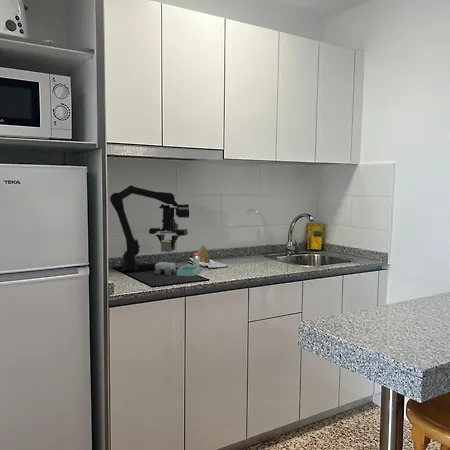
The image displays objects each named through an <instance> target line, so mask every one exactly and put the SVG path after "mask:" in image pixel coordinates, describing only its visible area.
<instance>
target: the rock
mask: <svg viewBox="0 0 450 450" xmlns="http://www.w3.org/2000/svg"><path fill="white" fill-rule="evenodd" d="M196 253H199V254H200V259H199V261H200V262H205V263H209V262H211V260H210V259H211V258H210V254H209V251H208V249H207V247H206V246H204V245H201V247H200V248H199V249H198V251H197V252H196Z"/></svg>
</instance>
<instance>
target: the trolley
mask: <svg viewBox="0 0 450 450" xmlns="http://www.w3.org/2000/svg"><path fill="white" fill-rule="evenodd" d="M176 265H177V264H176V262H166V261H160V262H157V263H155V265H154V267H155V268H154V274H155V275H157V276H158V275H159V276H160V275H161V274H162V273H164V276H171V275H172V274H174V273H177V266H176Z"/></svg>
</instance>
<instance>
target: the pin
mask: <svg viewBox="0 0 450 450" xmlns="http://www.w3.org/2000/svg"><path fill="white" fill-rule="evenodd" d="M199 259H200V254H199V253H197V252H196V253H193V261H194V262H192V263H193V266H192V267H200V264H199Z"/></svg>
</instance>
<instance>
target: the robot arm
mask: <svg viewBox="0 0 450 450" xmlns="http://www.w3.org/2000/svg"><path fill="white" fill-rule="evenodd" d="M132 194H133V195H138V196H142V197H144V198H146V197H147V198H150V199H155V200H157V201H160V202H162V203H161V204H160V205H159V206H158V208H159V209H161V210H162V219H161V223H162V227H161V228H160V227H150V228H149V230H148V234H149V235H155V236H156V237H157V238H158V241H159V242H160V244H161V240H165V235H166V234H173V235H171V240H172V249H173V248H174V246H175V247H176V242H177V240H178V238H179V237H181V236H182V237H184V236H188V233H189V232H188V229H187V228H179V224H178V223H177V222H176V219H175V216H176V217H177V218H178V219H179V218H183V219H189V218H190V204H189V203H185V204H178V202H177V201H176V200H175V195H174V194H173V193H171V192H167V191H155V190H151V189H147V188H142V187H138V186H135V185H128V186H127V187H126V188H124V189H123V190H121V191H119V192H113V193H112V194H111V195H110V197H109V201H110V203H111V205H112V206H113V208H114V210H115V211H116V213H117V216H118V220H119V223H120V225H121V228H122V231H123V235H124V237H125V242H126V243H125V244H126V251H124V252H123V255H122V260H121V261H122V264H121V265H122V269H120V272H131V273H132V272H135V271H138V270H139V268H138V259H137V257H136V256H137V255H139V253H140V249H141V244H140V243H139V238H135V236H134V234H133V231H132V228H131V226H130V222H129V219H128V217H127V213H126V211H125V202H124V199H125V198H126V197H129V196H131V195H132ZM170 205H171V206H172V207H171V206H170ZM155 236H154V237H155Z"/></svg>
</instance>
